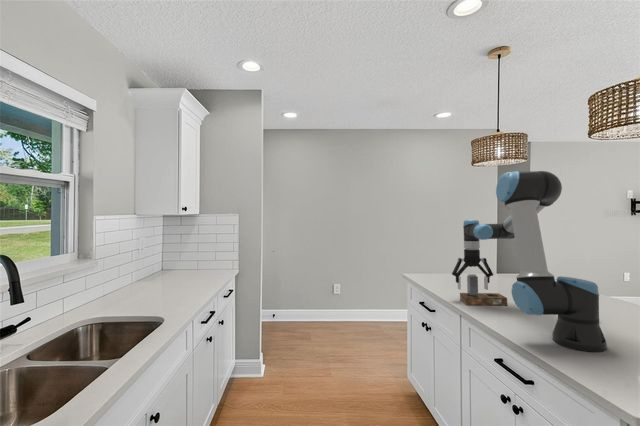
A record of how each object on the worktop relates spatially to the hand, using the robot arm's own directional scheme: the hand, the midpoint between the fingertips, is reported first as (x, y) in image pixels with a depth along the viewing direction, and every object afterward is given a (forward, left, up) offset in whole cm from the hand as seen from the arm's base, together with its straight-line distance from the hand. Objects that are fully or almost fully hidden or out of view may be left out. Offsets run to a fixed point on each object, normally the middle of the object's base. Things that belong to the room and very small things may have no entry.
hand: (472, 289), depth 171 cm
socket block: (0, -5, -7) cm, 9 cm away
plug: (0, 0, -7) cm, 7 cm away
